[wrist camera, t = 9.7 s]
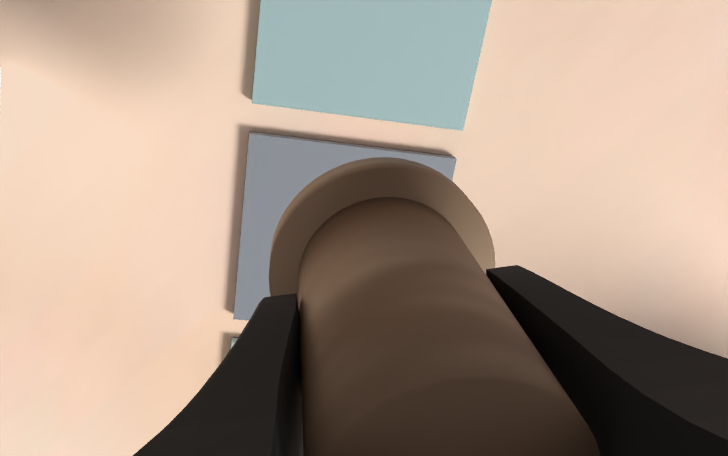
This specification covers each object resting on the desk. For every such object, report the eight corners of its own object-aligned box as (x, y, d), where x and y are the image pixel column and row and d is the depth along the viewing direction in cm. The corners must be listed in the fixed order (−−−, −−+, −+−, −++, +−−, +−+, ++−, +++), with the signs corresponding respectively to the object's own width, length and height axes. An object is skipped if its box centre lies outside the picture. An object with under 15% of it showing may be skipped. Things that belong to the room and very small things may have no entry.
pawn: (485, 146, 13) (674, 304, 7) (483, 340, 15) (629, 609, 8) (255, 168, 12) (222, 357, 6) (283, 365, 14) (279, 666, 8)
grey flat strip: (591, -465, 15) (597, -473, 15) (355, 605, 30) (355, 611, 29) (308, -554, 14) (308, -564, 14) (208, 605, 29) (208, 612, 28)
